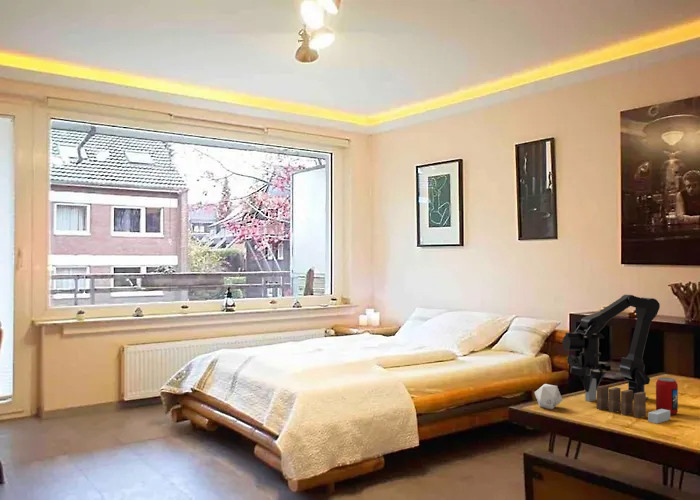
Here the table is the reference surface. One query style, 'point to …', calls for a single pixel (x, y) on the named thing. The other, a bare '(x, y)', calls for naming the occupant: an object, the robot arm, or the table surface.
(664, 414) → the block
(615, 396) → the tile
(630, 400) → the tile
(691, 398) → the table surface
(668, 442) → the table surface
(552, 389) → the die
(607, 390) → the tile
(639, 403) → the tile
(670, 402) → the beverage can
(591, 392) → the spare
